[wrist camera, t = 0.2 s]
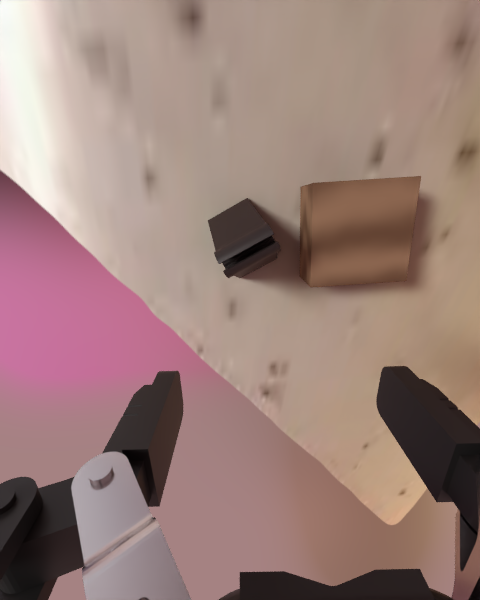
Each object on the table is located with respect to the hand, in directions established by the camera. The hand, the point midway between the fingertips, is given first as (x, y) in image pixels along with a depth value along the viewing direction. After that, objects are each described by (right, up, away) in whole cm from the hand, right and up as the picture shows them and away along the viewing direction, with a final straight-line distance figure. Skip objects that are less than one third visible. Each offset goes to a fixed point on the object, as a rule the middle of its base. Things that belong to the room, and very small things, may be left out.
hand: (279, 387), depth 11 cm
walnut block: (+13, +13, +27) cm, 32 cm away
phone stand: (-1, +12, +27) cm, 29 cm away
